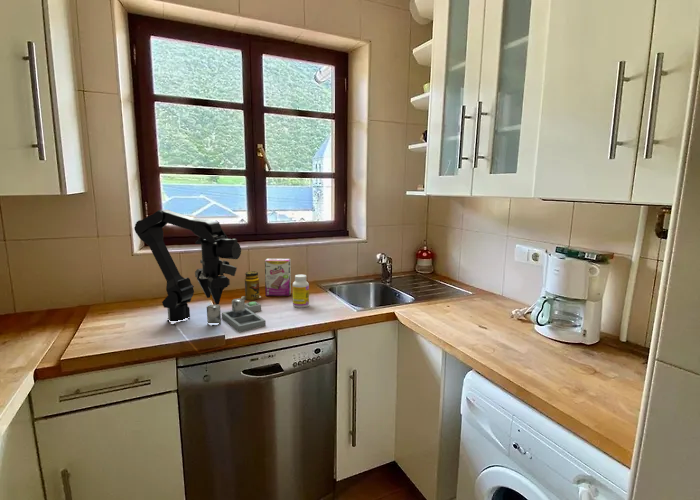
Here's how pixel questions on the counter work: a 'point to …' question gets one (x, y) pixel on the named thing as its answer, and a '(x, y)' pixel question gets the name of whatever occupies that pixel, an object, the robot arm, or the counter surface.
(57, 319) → the counter surface
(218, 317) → the billet
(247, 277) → the condiment
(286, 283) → the candy bar box
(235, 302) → the seated billet
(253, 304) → the button
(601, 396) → the counter surface
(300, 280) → the supplement bottle
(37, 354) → the counter surface
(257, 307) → the button collar
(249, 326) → the grey divided tray
